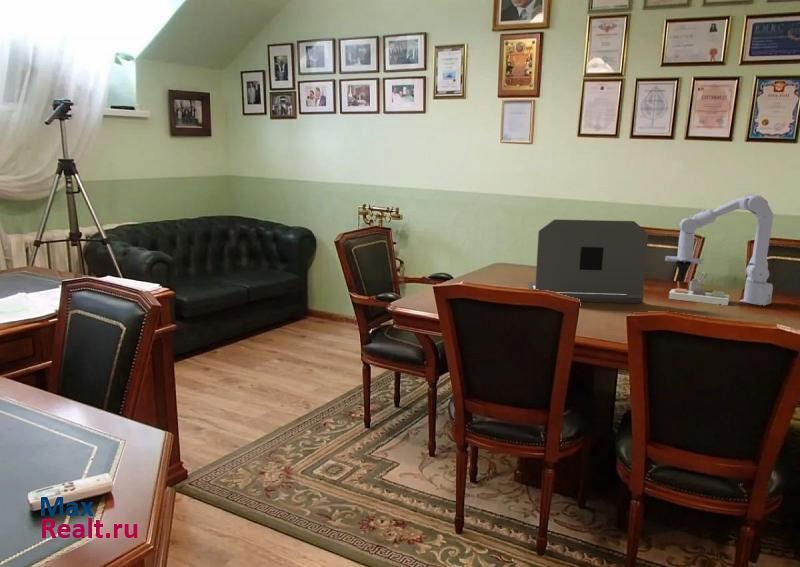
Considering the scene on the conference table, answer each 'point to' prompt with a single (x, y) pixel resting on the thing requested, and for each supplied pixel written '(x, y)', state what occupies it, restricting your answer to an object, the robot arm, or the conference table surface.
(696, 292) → the charcoal button
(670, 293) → the button panel
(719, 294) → the sage button
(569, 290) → the laptop
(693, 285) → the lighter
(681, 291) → the terracotta button
